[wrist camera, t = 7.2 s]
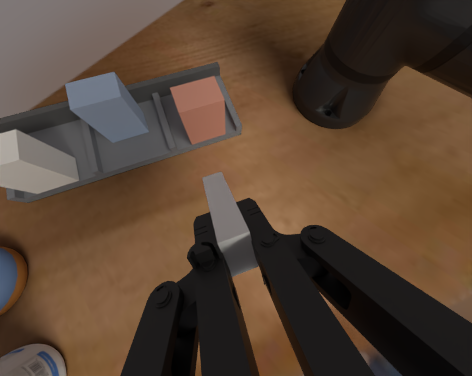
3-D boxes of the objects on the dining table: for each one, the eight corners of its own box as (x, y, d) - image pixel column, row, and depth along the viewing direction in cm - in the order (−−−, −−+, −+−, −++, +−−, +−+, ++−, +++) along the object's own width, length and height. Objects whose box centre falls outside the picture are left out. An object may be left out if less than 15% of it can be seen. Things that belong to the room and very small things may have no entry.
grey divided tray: (218, 83, 35) (217, 61, 30) (240, 134, 32) (242, 118, 28) (20, 138, 30) (-15, 122, 26) (28, 202, 27) (-10, 197, 23)
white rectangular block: (75, 157, 28) (15, 129, 20) (79, 180, 27) (19, 159, 19) (34, 170, 27) (-44, 145, 19) (37, 193, 26) (-44, 177, 18)
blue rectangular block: (143, 112, 30) (114, 71, 23) (149, 132, 29) (121, 96, 22) (107, 122, 29) (65, 83, 22) (112, 142, 29) (70, 109, 21)
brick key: (217, 115, 31) (214, 75, 23) (225, 134, 30) (224, 100, 22) (184, 125, 30) (169, 87, 22) (191, 144, 29) (178, 113, 21)
